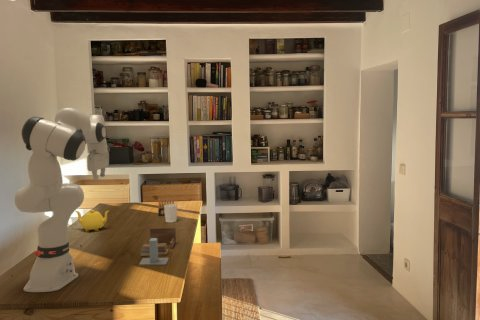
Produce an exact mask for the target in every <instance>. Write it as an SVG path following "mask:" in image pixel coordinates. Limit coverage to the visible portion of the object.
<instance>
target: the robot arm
mask: <svg viewBox="0 0 480 320" xmlns="http://www.w3.org/2000/svg"><path fill="white" fill-rule="evenodd" d="M107 137H108V136H107V127H106V121H105V118H104V116H103V115H102V114H97V113H96V114H95V113H93V114H91V113H90V114H88V115H87V114H86V113H85V112H83V111H82V110H80V109H78V108H74V107H63V108H60V109H59V110H58V111H57V112H56V114H55V116H54V121H52V120H48V119H46V118H44V117H40V116H32V117H30V118H28V119H27V120H26V121H25V123H24V124H23V126H22V129H21V138H22V142H23V143H24V144H25V148H26V150H28V151H32V154H31V156H30V157H29V160H28V165H27V172H28V173H27V174H28V178H29V181H30V182H29V184H27V185H26V186H23V187H21V188H19V189H18V190H17V191H16V193H15V196H14V205H15V206H16V208H17V210H18V211H20V212H21V213H32V214H33V213H34V214H36V213H47V212H52V213H53V214H52V216H51V217H49V218H48V219H45V220H44V221H42V222H41V223H40V224H39V225H38V227H37V240H38V241H37V242H38V243H37V244H38V245H37V248H36V250H34V254H33V255H34V256H35V257H36V259H35V261H34V263H33V265H32V267H31V270H30V273H29V280H28V281H27V282H26V284H25V286H24V287H23V291H24V292H27V293H49V292H55V291H59V290H62V288H64V287H65V286H66V285H68V284H69V283H71V282H73V281H74V280H75V279H77V278H78V277H79V273H78V272H76V269H75V262H74V257H73V256H72V254H70V252H69V251H70V243H69V241H68V225H69V221H70V218H71V216H72V215H73V213H75V212H76V211H77V209H78V208H80V207H81V206H82V204H83V202H84V199H85V192H84V190H83V188H82V187H81V186H80V185H79V184H77V183H67V182H65V183H64V182H63V173H62V168H61V166H60V163H59V160H58V157H59V158H63V159H65V160H67V161H73V162H74V161H76V160H78V159H80V158H81V157H82V155H83V154H84V152H85V151H86V150H85V149H87V154H88V155H87V157H86V163H87V165H86V167H87V171H88V172H91V174H92V177H93V180H94V181H97V180H99V176H100V177H101V178H104V177H106V173H105V172H106V167H109V164H110V153H109V152H110V150H111V149H110V146H109V145H108V144H107V143H108V142H107V139H106V138H107ZM86 147H87V148H86ZM98 170H99V171H100V173H99V175H98Z"/></svg>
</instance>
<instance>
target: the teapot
mask: <svg viewBox="0 0 480 320" xmlns="http://www.w3.org/2000/svg"><path fill="white" fill-rule="evenodd" d="M109 212H110V210H106V211H105V212H104V217H103V215H102V213H100V211H97V210H96V211H95V209H91V210H89V211H88V212H86V213H84V215H83V217H82V214H81V212H80V211H79V210H75V213H77V219H78V222H79V224H80V225H81V228H83V230H84V232H90V231H91V230H94V232H99V231H100V230H99V228H100V229H102V228H103V227H104V225H105V224H106V223H107V221H108V213H109Z"/></svg>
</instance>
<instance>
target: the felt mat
mask: <svg viewBox="0 0 480 320" xmlns="http://www.w3.org/2000/svg"><path fill="white" fill-rule="evenodd" d="M169 260H170V259H169V257H158V261H157V262H151V263H150V257H142V258H141V260H140V262H139V263H138V266H167V264H168V262H169Z"/></svg>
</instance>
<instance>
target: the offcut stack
mask: <svg viewBox="0 0 480 320" xmlns="http://www.w3.org/2000/svg"><path fill="white" fill-rule="evenodd" d="M168 251H169V250H168V248H167V244H166V243H158V257H159V256H163V257H164V256H167V254H168ZM140 257H150V250H149V243H147V242H146V243H144V244H143V245H142V247H141V249H140Z"/></svg>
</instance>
